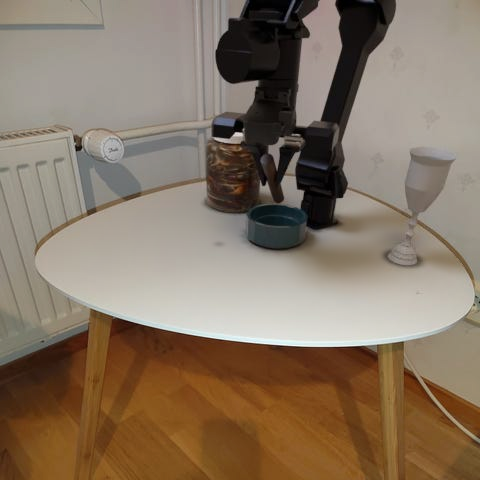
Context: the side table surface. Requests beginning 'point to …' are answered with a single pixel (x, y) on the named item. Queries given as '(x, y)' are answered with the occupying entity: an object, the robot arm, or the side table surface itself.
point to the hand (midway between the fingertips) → (270, 186)
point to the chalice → (421, 192)
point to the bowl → (276, 225)
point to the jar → (231, 175)
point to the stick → (272, 177)
